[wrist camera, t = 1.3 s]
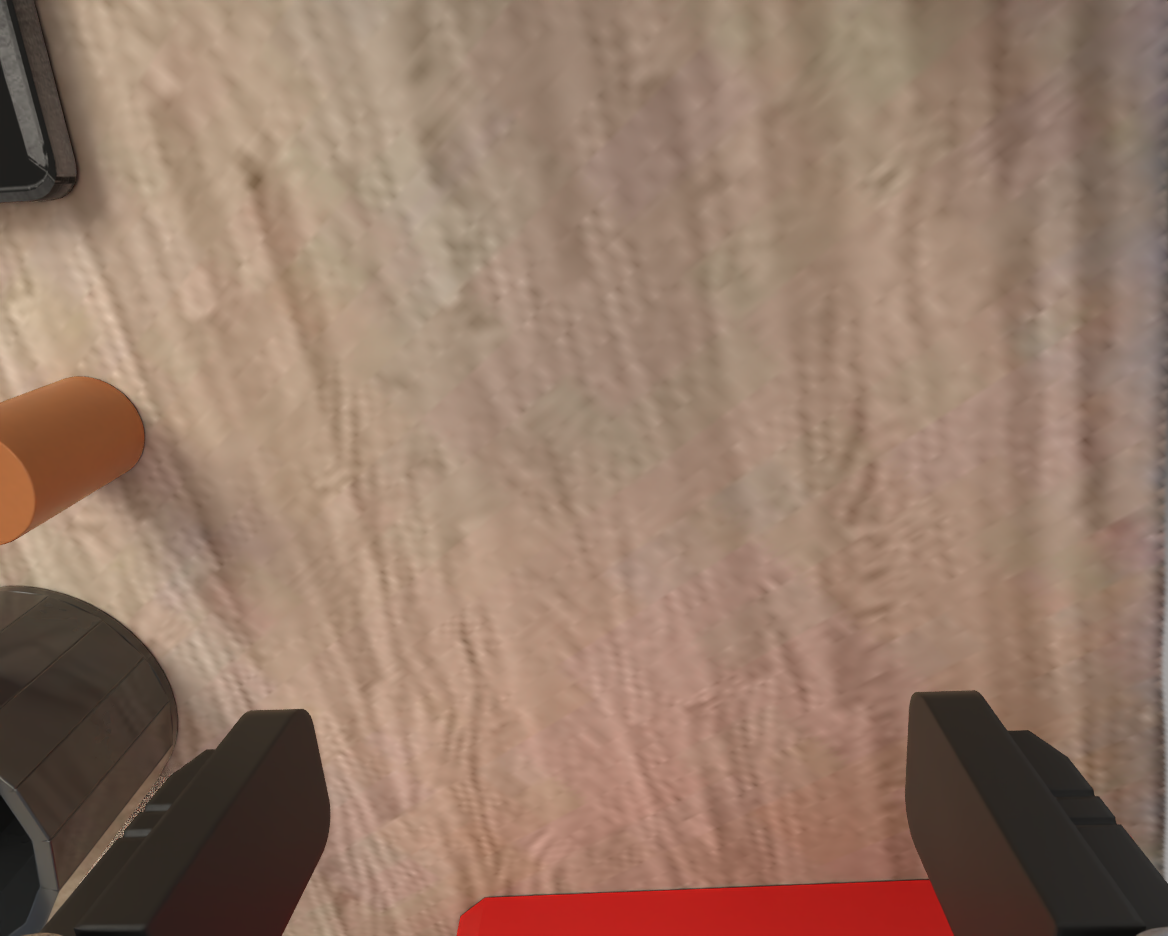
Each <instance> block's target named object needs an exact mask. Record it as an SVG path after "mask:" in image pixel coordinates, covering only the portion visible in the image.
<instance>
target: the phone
mask: <svg viewBox="0 0 1168 936" xmlns="http://www.w3.org/2000/svg"><path fill="white" fill-rule="evenodd" d="M76 175H77V172H76V163H75V159H74V155H73V151H72V147H71V143H70V139H69V136H68V132H67V128H66V124H65V120H64V116H63V112H62V108H61V104H60V101H59V97H58V93H57V89H56V85H55V81H54V77H53V73H52V70H51V66H50V62H49V58H48V54H47V50H46V46H45V42H44V38H43V35H42V31H41V27H40V23H39V19H38V15H37V11H36V7H35V3H34V0H0V203H8V202H24V201H40V200H54V199H58V198H62V197H63V196H65V195H66V194H68V193H69V192H70V191H71V189H72V187H73V186H74V184H75V180H76Z"/></svg>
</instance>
